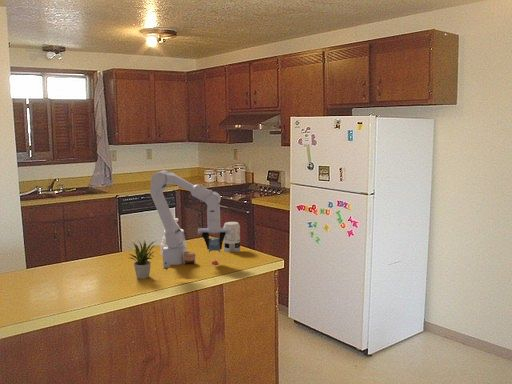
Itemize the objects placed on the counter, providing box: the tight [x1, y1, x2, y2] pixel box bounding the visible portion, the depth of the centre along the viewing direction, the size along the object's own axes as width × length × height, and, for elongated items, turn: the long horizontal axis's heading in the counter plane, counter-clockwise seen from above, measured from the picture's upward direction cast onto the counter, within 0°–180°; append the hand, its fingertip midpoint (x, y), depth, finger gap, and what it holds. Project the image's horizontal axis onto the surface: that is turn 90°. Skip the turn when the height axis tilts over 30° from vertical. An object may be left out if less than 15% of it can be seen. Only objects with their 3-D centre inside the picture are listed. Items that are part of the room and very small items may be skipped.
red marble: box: [211, 259, 219, 265], centre depth 223 cm, size 3×3×3 cm
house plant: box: [125, 240, 157, 280], centre depth 209 cm, size 14×14×16 cm
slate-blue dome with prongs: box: [208, 237, 221, 253], centre depth 222 cm, size 5×5×6 cm
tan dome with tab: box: [183, 252, 197, 265], centre depth 223 cm, size 5×5×6 cm
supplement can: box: [222, 221, 241, 253], centre depth 245 cm, size 8×8×15 cm
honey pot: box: [160, 217, 188, 257], centre depth 244 cm, size 13×13×18 cm
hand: (214, 248), depth 222 cm, fingers closed on slate-blue dome with prongs, 5 cm apart
